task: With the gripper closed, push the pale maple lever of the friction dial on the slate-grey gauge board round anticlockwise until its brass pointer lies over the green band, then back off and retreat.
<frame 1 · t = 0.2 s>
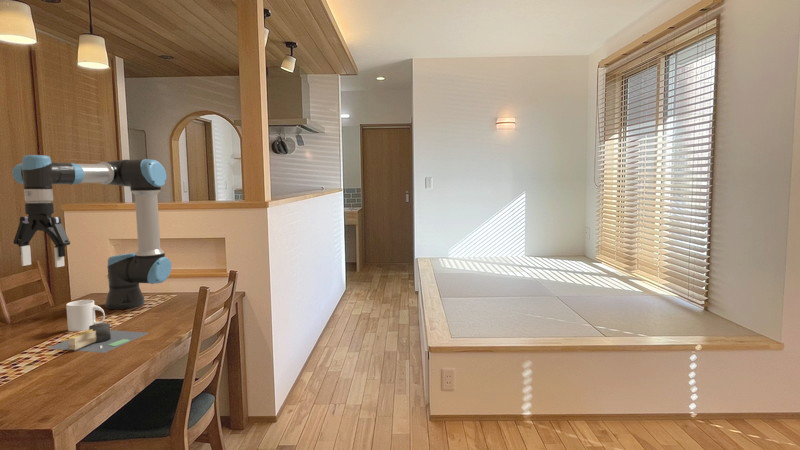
hand: (43, 266, 157), 27 cm above the table, fingers open, 13 cm apart
dial lever: (89, 337, 157), point 4 cm above the table, hinge at 0.0°
gauge board: (100, 343, 162), on the table
mug: (87, 330, 176), on the table
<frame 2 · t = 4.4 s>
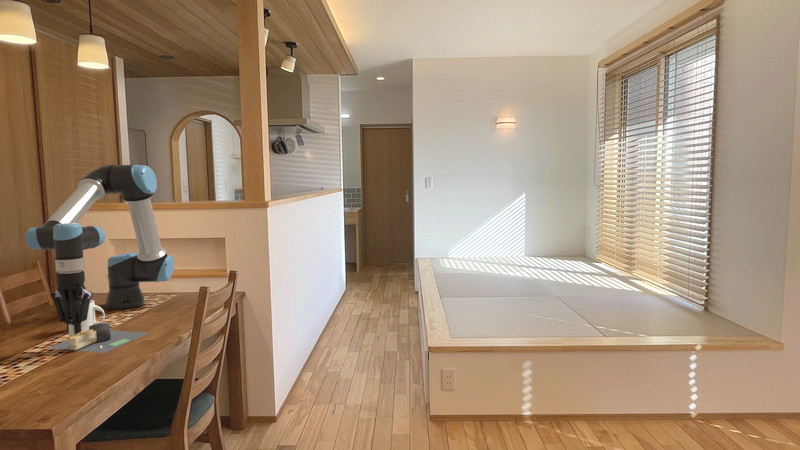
hand: (74, 342, 154), 3 cm above the table, fingers closed
dial lever: (89, 337, 157), point 4 cm above the table, hinge at 1.4°, touching gripper
everything else where it was.
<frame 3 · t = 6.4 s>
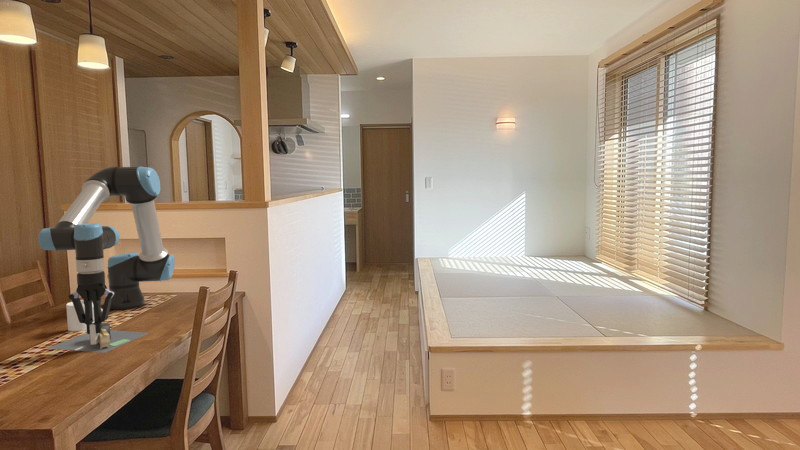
hand: (95, 343, 153), 3 cm above the table, fingers closed
dial lever: (102, 336, 158), point 4 cm above the table, hinge at 51.6°, touching gripper
everything else where it was.
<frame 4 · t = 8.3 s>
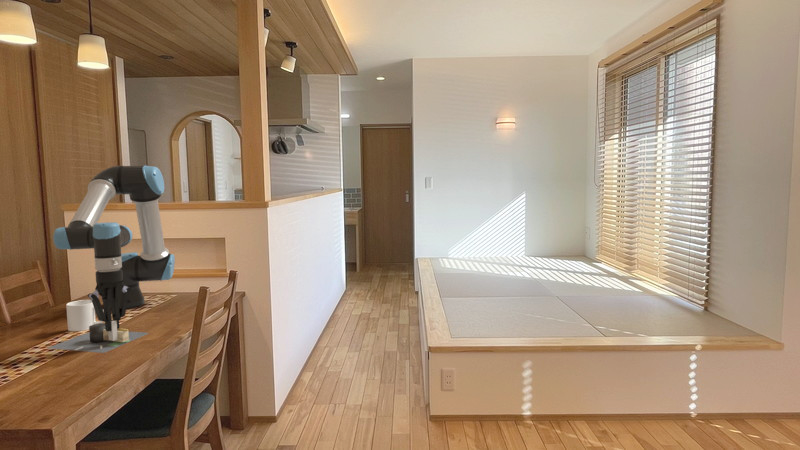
hand: (113, 339, 157), 3 cm above the table, fingers closed
dial lever: (110, 333, 160), point 4 cm above the table, hinge at 85.1°
everything else where it was.
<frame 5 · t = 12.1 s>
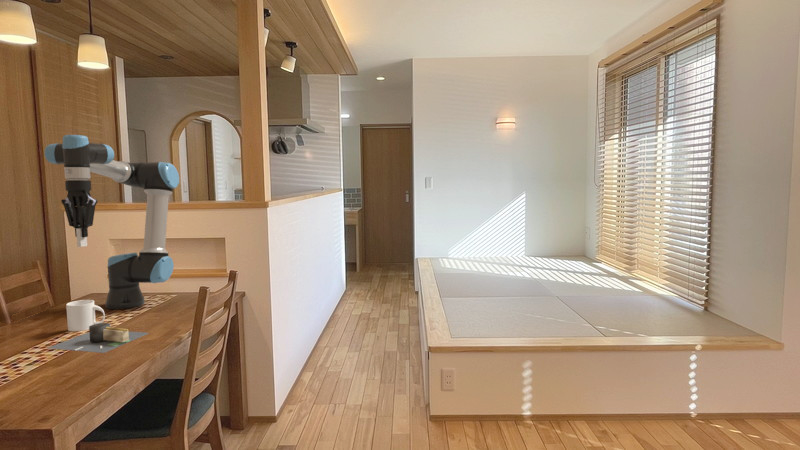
hand: (82, 246, 168), 32 cm above the table, fingers closed
nothing on the table moved.
at the end: dial lever at +85° (first picture: +0°); dial lever touching nothing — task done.
